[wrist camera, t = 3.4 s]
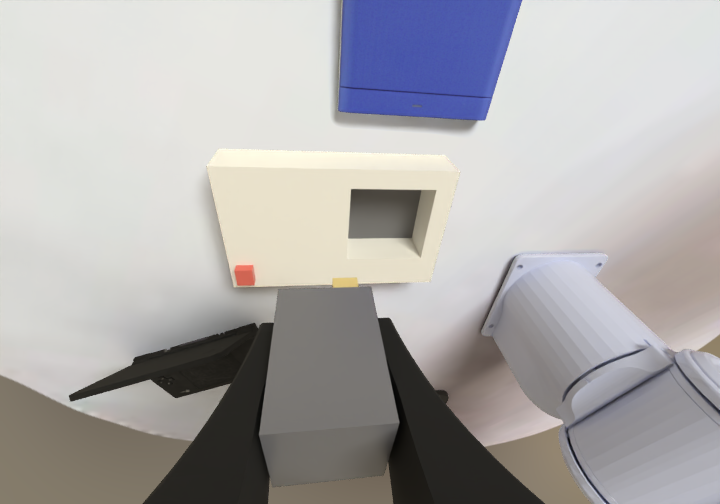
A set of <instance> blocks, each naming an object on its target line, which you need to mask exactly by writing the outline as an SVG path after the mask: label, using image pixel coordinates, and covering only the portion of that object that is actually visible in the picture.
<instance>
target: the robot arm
mask: <svg viewBox="0 0 720 504" xmlns="http://www.w3.org/2000/svg"><path fill="white" fill-rule="evenodd" d="M607 259H608V256H607V255H605V254H604V253H575V254H522V255H518V256H517V257H515V259H514V260H513V263H512V265H511V267H510V269H509V271H508V274H507V276H506V278H505V280H504V282H503V284H502V287H501V289H500V291H499V293H498V295H497V298H496V300H495V302H494V304H493V306H492V308H491V311H490V313H489V315H488V317H487V319H486V322H485V324H484V326H483V328H482V330H481V333H482V335H483V336H492V337H493V339H494V340H495V342H496V344H497V346H498V347H499V349H500V351H501V353H502V355H503V356H504V358H505V360H506V362H507V364H508V365H509V367H510V369H511V371H512V373H513V374H514V376H515V378H516V380H517V382H518V383H519V385H520V387H521V389H522V390H523V392H524V393H525V395H526V396H527V397H528V398H529V399H530V400H531V401H532V402H533V403H534V404H535V405H536V406H537V407H538V408H540V409H541V410H542V411H544V412H545V413H547V414H549V415H551V416H553V417H555V418H558V419H562V421H563V422H564V424H563V425H562V426H561V428H560V430H559V443H560V447H561V451H562V455H563V458H564V461H565V463H566V466H567V468H568V470H569V472H570V474H571V476H572V478H573V479H574V481H575V482H576V484H577V486H578V487H579V488H580V490H581V491H582V493H583V494H584V495H585V496H586V498H587V499H588V500H589V501H590V503H591V504H720V358H718V357H716V356H714V355H712V354H710V353H706V352H699V351H694V350H691V349H683V350H682V351H681V352H679V353H677V352H674V351H673V350H672V349H671V348H670V347H669V346H668V345H667V344H665V343H664V342H663V341H662V340H661V339H660V338H659V337H658V336H657V335H656V334H655V333H654V332H653V331H652V330H650V329H649V328H648V327H647V326H646V325H645V324H644V323H643V322H642V321H641V320H640V319H639V318H638V317H637V316H635V315H634V314H633V313H632V312H631V311H630V310H629V309H628V308H627V307H626V306H625V305H624V304H623V303H622V302H620V301H619V300H618V299H617V298H616V297H615V296H614V295H613V294H612V293H611V292H610V291H609V290H608V289H607V288H605V287H604V286H603V285H602V284H601V283H600V282H599V281H598V280H597V279H596V278H595V277H596V276H597V274H598V273H599V271H600V270H601V268H602V267H603V265H604V264H605V263H606V261H607ZM518 265H519V266H518ZM378 322H379V327H380V332H381V337H382V342H383V346H384V351H385V356H386V361H387V366H388V370H389V375H390V380H391V385H392V390H393V394H394V399H395V404H396V409H397V414H398V418H399V426H398V430H397V433H396V436H395V440H394V443H393V446H392V450H391V453H390V457H389V460H388V463H389V471H390V479H391V486H392V495H393V503H394V504H545V503H544V502H543V501H541V500H540V499H539V498H538V497H537V496H536V495H534V494H533V493H532V492H531V491H530V490H529V489H528V488H526V487H525V486H524V485H523V484H522V483H521V482H520V481H519V480H518V479H516V478H515V477H514V476H513V475H512V474H511V473H510V472H509V471H508V470H507V469H506V468H505V467H504V466H503V465H502V464H501V463H499V461H497V460H496V459H495V458H494V457H493V456H492V454H491V453H490V452H489V451H487V449H486V448H485V447H484V446H483V445H482V444H481V443H480V442H479V441H478V440H477V439H476V438H475V437H474V436H473V435H472V434H471V433H470V432H469V431H468V429H467V428H466V427H465V426H464V425H463V424H462V423H461V422H460V420H459V419H458V418H457V417H456V416H455V415H454V413H453V412H452V411H451V410H450V409H449V407H448V406H447V405H446V404H445V403H444V401H443V400H442V399H441V397H440V396H439V395H438V394H437V392H436V391H435V390H434V388H433V387H432V385H431V384H430V383H429V381H428V380H427V379H426V377H425V376H424V374H423V373H422V371H421V370H420V368H419V367H418V365H417V364H416V362H415V361H414V359H413V358H412V356H411V355H410V353H409V351H408V350H407V348H406V346H405V345H404V343H403V341H402V340H401V338H400V336H399V334H398V332H397V330H396V329H395V327H394V325H393V323H392V321H391V319H390V318H378ZM273 326H274V323H262V324H261V325H260V326H259V329H258V331H257V334H256V336H255V339H254V341H253V343H252V345H251V347H250V349H249V351H248V353H247V355H246V357H245V359H244V361H243V363H242V365H241V367H240V369H239V370H238V372H237V374H236V376H235V378H234V380H233V381H232V383H231V385H230V386H229V388H228V390H227V391H226V393H225V395H224V396H223V398H222V399H221V401H220V403H219V404H218V406H217V407H216V409H215V410H214V412H213V414H212V415H211V417H210V418H209V419H208V421H207V422H206V424H205V425H204V427H203V428H202V430H201V431H200V432H199V434H198V435H197V437H196V438H195V439H194V441H193V442H192V443H191V445H190V446H189V447H188V449H187V450H186V451H185V453H184V454H183V455H182V457H181V458H180V459H179V460H178V462H177V463H176V464H175V466H174V467H173V468H172V469H171V471H170V472H169V473H168V474H167V476H166V477H165V478H164V479H163V480H162V481H161V483H160V484H159V485H158V486H157V487H156V489H155V490H154V491H153V492H152V493H151V494H150V496H149V497H148V498H147V499H146V500H145V502H144V503H143V504H268V493H269V480H270V476H269V472H268V468H267V464H266V460H265V456H264V452H263V449H262V445H261V441H260V437H259V431H260V424H261V416H262V409H263V401H264V394H265V386H266V379H267V371H268V364H269V356H270V349H271V341H272V334H273Z"/></svg>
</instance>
